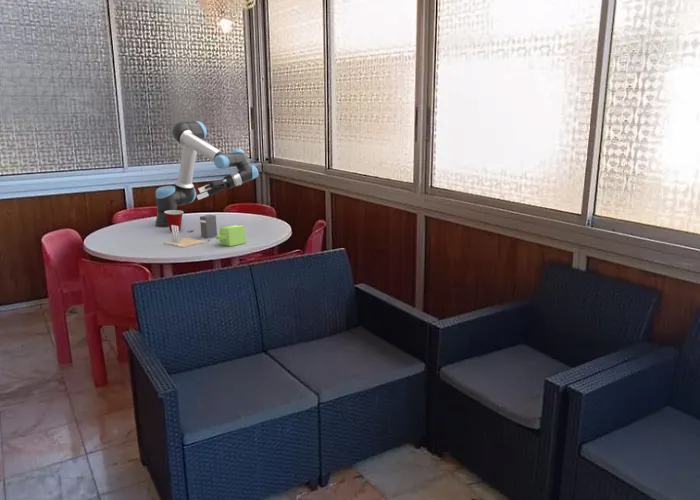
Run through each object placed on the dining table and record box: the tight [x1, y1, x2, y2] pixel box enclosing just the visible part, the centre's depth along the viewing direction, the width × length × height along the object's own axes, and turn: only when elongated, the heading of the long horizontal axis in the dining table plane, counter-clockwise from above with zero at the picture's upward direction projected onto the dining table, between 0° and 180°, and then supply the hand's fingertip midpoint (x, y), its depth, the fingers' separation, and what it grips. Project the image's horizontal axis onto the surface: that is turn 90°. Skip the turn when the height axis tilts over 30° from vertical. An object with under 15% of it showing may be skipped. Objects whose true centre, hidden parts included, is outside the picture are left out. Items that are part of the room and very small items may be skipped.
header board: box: [163, 225, 206, 248], centre depth 316 cm, size 16×15×10 cm
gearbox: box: [215, 224, 247, 247], centre depth 313 cm, size 18×10×10 cm, turn 140°
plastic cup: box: [165, 209, 184, 233], centre depth 345 cm, size 11×11×12 cm
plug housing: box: [199, 214, 218, 240], centre depth 329 cm, size 5×7×12 cm
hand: (198, 194), depth 331 cm, fingers open, 13 cm apart
